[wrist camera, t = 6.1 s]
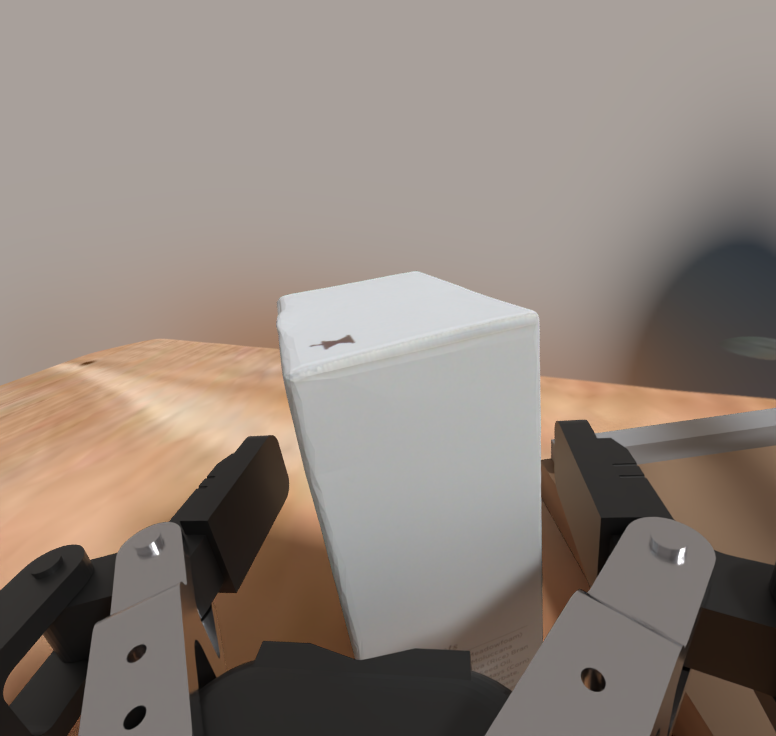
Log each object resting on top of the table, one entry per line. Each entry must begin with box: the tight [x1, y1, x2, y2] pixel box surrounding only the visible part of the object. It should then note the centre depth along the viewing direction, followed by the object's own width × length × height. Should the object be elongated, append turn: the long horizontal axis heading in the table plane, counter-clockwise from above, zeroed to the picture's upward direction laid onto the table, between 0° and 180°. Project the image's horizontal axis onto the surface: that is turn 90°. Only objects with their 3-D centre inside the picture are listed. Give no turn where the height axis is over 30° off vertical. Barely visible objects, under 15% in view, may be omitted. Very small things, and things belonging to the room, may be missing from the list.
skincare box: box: [276, 271, 543, 691], centre depth 11 cm, size 6×4×12 cm
